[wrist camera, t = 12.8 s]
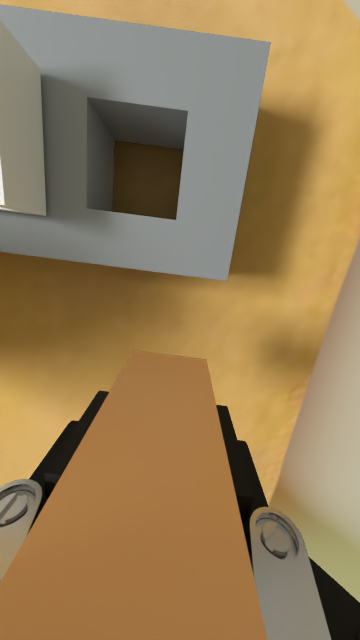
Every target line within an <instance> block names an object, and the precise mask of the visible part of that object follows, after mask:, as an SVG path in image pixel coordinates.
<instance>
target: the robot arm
mask: <svg viewBox="0 0 360 640" xmlns="http://www.w3.org/2000/svg"><path fill="white" fill-rule="evenodd" d="M108 394H109V392H106V391H99V392H98V393H97V394H96V396H95V397H94V399H93V400H92V402H91V403H90V405H89V406H88V408H87V409H86V411H85V413H84V414H83V416H82V417H81V419H80V420H79V421H71V422H70V423H69V424H68V425H67V427H66V428H65V429H64V431H63V432H62V434H61V435H60V436H59V438H58V439H57V441H56V442H55V443H54V445H53V446H52V448H51V449H50V450H49V452H48V453H47V455H46V456H45V457H44V459H43V460H42V462H41V463H40V464H39V466H38V467H37V469H36V470H35V471H34V473H33V474H32V476H31V477H30V478H29V479H21V480H16V481H13V482H10V483H8V484H5V485H3V486H2V487H0V582H1V580H2V578H3V577H4V575H5V573H6V572H7V570H8V568H9V566H10V565H11V563H12V561H13V559H14V558H15V556H16V554H17V552H18V551H19V549H20V547H21V545H22V544H23V542H24V540H25V538H26V537H27V535H28V533H29V531H30V530H31V528H32V526H33V524H34V523H35V521H36V519H37V518H38V516H39V514H40V512H41V511H42V509H43V507H44V505H45V504H46V502H47V500H48V498H49V497H50V495H51V493H52V491H53V490H54V488H55V486H56V484H57V483H58V481H59V479H60V477H61V476H62V474H63V472H64V470H65V469H66V467H67V465H68V464H69V462H70V460H71V458H72V457H73V455H74V453H75V451H76V450H77V448H78V446H79V444H80V443H81V441H82V439H83V437H84V436H85V434H86V432H87V430H88V429H89V427H90V425H91V423H92V422H93V420H94V418H95V416H96V415H97V413H98V411H99V410H100V408H101V406H102V404H103V403H104V401H105V399H106V397H107V396H108ZM216 407H217V411H218V416H219V421H220V425H221V430H222V434H223V439H224V443H225V448H226V453H227V457H228V462H229V466H230V471H231V475H232V480H233V484H234V489H235V494H236V498H237V503H238V507H239V512H240V516H241V521H242V526H243V530H244V535H245V539H246V544H247V548H248V553H249V558H250V562H251V567H252V571H253V576H254V580H255V585H256V589H257V594H258V599H259V603H260V608H261V612H262V617H263V621H264V626H265V631H266V635H267V640H360V603H359V602H358V601H357V600H356V599H355V598H354V597H353V596H351V595H350V594H349V593H348V592H347V591H346V590H345V589H344V588H343V587H342V586H340V585H339V584H338V583H337V582H336V581H335V580H334V579H333V578H331V576H329V575H328V574H327V573H326V572H325V571H324V570H323V569H322V568H321V567H320V566H318V565H317V564H316V563H315V562H314V561H313V560H312V559H310V557H308V554H307V550H306V546H305V543H304V540H303V538H302V535H301V533H300V532H299V530H298V528H297V527H296V525H295V524H294V523H293V522H292V521H291V520H290V519H289V518H288V517H287V516H286V515H284V514H283V513H282V512H280V511H278V510H276V509H274V508H270V507H268V504H267V501H266V498H265V495H264V492H263V489H262V486H261V484H260V481H259V478H258V475H257V472H256V469H255V466H254V463H253V460H252V457H251V454H250V451H249V448H248V446H247V443H246V442H245V441H240V440H237V438H236V434H235V431H234V428H233V424H232V421H231V417H230V414H229V411H228V407H227V406H221V405H216Z"/></svg>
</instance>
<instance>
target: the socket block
mask: <svg viewBox="0 0 360 640" xmlns="http://www.w3.org/2000/svg"><path fill="white" fill-rule="evenodd" d="M0 20H1V21H2V22H3V24H4V25H5V26H6V27H7V28H8V30H9V31H10V32H11V33H12V35H13V36H14V37H15V38H16V40H17V41H18V42H19V43H20V45H21V46H22V47H23V48H24V50H25V51H26V52H27V53H28V55H29V56H30V57H31V58H32V60H33V61H34V62H35V63H36V65H37V66H38V67H39V68H40V76H41V100H42V124H43V148H44V172H45V195H46V216H43V215H35V214H27V213H20V212H12V211H4V210H0V252H5V253H13V254H21V255H28V256H36V257H44V258H52V259H60V260H67V261H75V262H83V263H91V264H98V265H106V266H114V267H122V268H130V269H137V270H145V271H153V272H161V273H168V274H176V275H184V276H192V277H199V278H207V279H215V280H223V281H227V279H228V274H229V268H230V263H231V257H232V252H233V246H234V241H235V235H236V230H237V224H238V219H239V214H240V208H241V203H242V197H243V192H244V186H245V181H246V175H247V170H248V164H249V159H250V153H251V148H252V142H253V137H254V132H255V126H256V121H257V115H258V110H259V104H260V99H261V93H262V88H263V82H264V77H265V71H266V66H267V60H268V55H269V49H270V44H271V42H266V41H258V40H251V39H244V38H237V37H230V36H223V35H215V34H208V33H201V32H194V31H187V30H179V29H172V28H165V27H158V26H151V25H144V24H136V23H129V22H122V21H115V20H108V19H101V18H93V17H86V16H79V15H72V14H65V13H57V12H50V11H43V10H36V9H29V8H22V7H14V6H7V5H0ZM115 141H123V142H130V143H138V144H145V145H153V146H160V147H168V148H175V149H183V150H184V153H183V162H182V171H181V180H180V189H179V198H178V207H177V216H176V220H172V219H164V218H156V217H149V216H141V215H133V214H126V213H118V212H112V206H113V177H114V149H115Z"/></svg>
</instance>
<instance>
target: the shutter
mask: <svg viewBox="0 0 360 640" xmlns="http://www.w3.org/2000/svg"><path fill="white" fill-rule="evenodd" d="M0 210H4V211H12V212H20V213H27V214H35V215H43V216H46V195H45V172H44V148H43V124H42V100H41V76H40V68H39V67H38V66H37V65H36V63H35V62H34V61H33V60H32V58H31V57H30V56H29V55H28V53H27V52H26V51H25V50H24V48H23V47H22V46H21V45H20V43H19V42H18V41H17V40H16V38H15V37H14V36H13V35H12V33H11V32H10V31H9V30H8V28H7V27H6V26H5V25H4V24H3V22H2V21H1V20H0Z"/></svg>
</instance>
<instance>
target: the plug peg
mask: <svg viewBox="0 0 360 640" xmlns="http://www.w3.org/2000/svg"><path fill="white" fill-rule="evenodd" d="M0 640H267V635H266V631H265V626H264V621H263V617H262V612H261V608H260V603H259V599H258V594H257V589H256V585H255V580H254V576H253V571H252V567H251V562H250V558H249V553H248V548H247V544H246V539H245V535H244V530H243V526H242V521H241V516H240V512H239V507H238V503H237V498H236V494H235V489H234V484H233V480H232V475H231V471H230V466H229V462H228V457H227V453H226V448H225V443H224V439H223V434H222V430H221V425H220V421H219V416H218V411H217V407H216V402H215V398H214V393H213V389H212V384H211V380H210V375H209V370H208V366H207V361H206V359H199V358H191V357H183V356H175V355H167V354H159V353H151V352H142V351H134V350H133V352H132V354H131V356H130V357H129V359H128V361H127V362H126V364H125V366H124V368H123V369H122V371H121V373H120V375H119V376H118V378H117V380H116V382H115V383H114V385H113V387H112V389H111V390H110V392H109V394H108V396H107V397H106V399H105V401H104V403H103V404H102V406H101V408H100V410H99V411H98V413H97V415H96V416H95V418H94V420H93V422H92V423H91V425H90V427H89V429H88V430H87V432H86V434H85V436H84V437H83V439H82V441H81V443H80V444H79V446H78V448H77V450H76V451H75V453H74V455H73V457H72V458H71V460H70V462H69V464H68V465H67V467H66V469H65V470H64V472H63V474H62V476H61V477H60V479H59V481H58V483H57V484H56V486H55V488H54V490H53V491H52V493H51V495H50V497H49V498H48V500H47V502H46V504H45V505H44V507H43V509H42V511H41V512H40V514H39V516H38V518H37V519H36V521H35V523H34V524H33V526H32V528H31V530H30V531H29V533H28V535H27V537H26V538H25V540H24V542H23V544H22V545H21V547H20V549H19V551H18V552H17V554H16V556H15V558H14V559H13V561H12V563H11V565H10V566H9V568H8V570H7V572H6V573H5V575H4V577H3V578H2V580H1V582H0Z"/></svg>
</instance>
